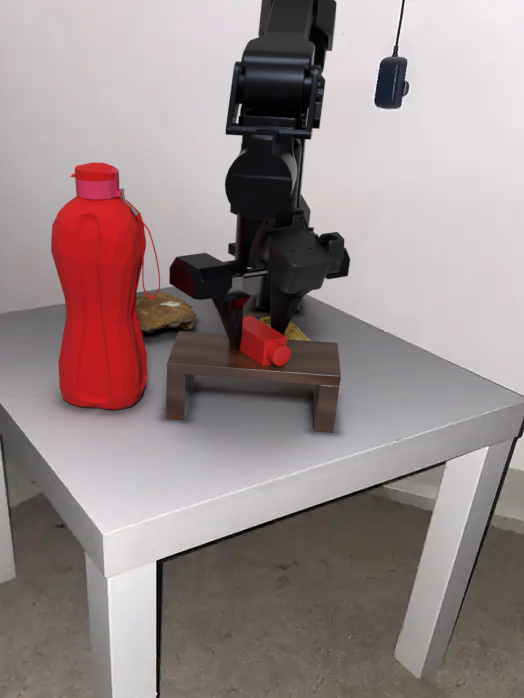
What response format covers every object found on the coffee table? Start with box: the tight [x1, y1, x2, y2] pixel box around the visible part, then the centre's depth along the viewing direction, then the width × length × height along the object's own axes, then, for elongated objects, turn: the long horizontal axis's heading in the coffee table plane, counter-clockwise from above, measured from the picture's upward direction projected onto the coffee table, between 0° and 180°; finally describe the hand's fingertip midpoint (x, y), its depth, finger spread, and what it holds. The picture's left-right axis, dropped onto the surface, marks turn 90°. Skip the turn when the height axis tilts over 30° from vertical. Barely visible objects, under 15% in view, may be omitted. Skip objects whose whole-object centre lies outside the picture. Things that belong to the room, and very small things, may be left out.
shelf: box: [165, 331, 342, 433], centre depth 85 cm, size 9×18×7 cm, turn 83°
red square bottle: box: [229, 315, 291, 366], centre depth 82 cm, size 8×3×3 cm, turn 29°
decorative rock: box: [136, 292, 198, 335], centre depth 105 cm, size 11×4×15 cm
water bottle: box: [50, 162, 161, 411], centre depth 82 cm, size 9×11×25 cm
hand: (256, 345), depth 83 cm, fingers open, 5 cm apart
